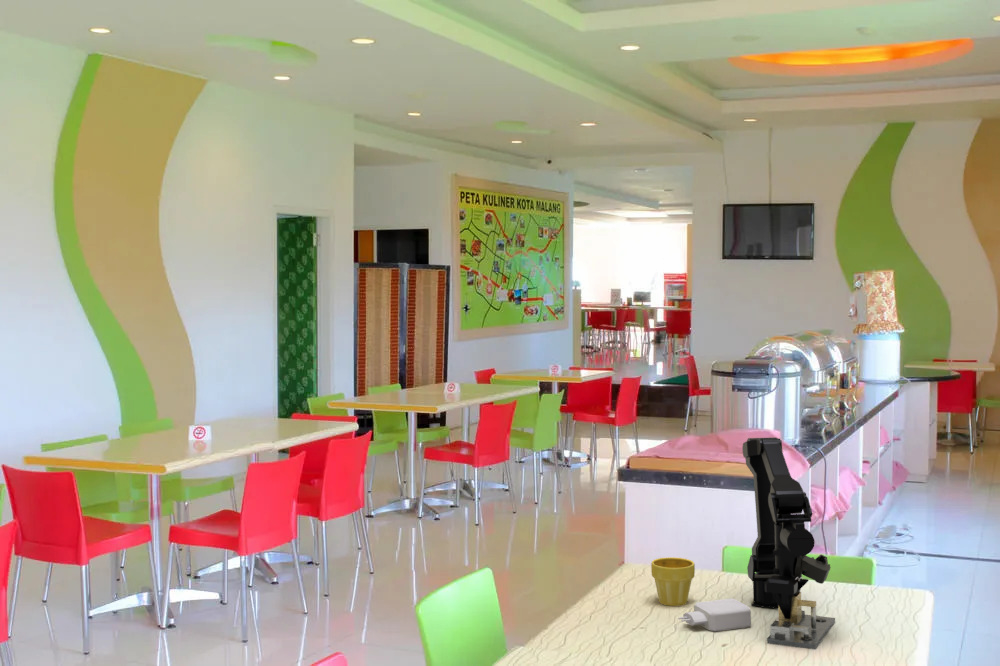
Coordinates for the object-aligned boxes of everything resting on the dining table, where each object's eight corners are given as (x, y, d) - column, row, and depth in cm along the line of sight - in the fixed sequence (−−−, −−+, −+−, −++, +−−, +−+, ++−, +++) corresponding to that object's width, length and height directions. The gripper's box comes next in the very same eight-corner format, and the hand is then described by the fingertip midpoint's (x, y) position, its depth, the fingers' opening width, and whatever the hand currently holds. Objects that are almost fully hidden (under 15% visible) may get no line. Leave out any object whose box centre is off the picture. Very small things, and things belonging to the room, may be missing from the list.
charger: (671, 624, 239) (731, 617, 243) (689, 636, 230) (751, 628, 234) (670, 603, 238) (730, 596, 243) (689, 615, 230) (750, 607, 234)
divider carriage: (778, 626, 230) (778, 594, 230) (783, 621, 233) (782, 590, 233) (813, 630, 226) (813, 598, 226) (818, 625, 230) (817, 593, 230)
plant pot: (703, 605, 252) (702, 564, 252) (666, 610, 248) (665, 569, 248) (681, 594, 262) (680, 555, 261) (644, 599, 258) (643, 560, 258)
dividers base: (767, 643, 223) (766, 626, 223) (789, 617, 241) (789, 601, 241) (815, 649, 218) (815, 632, 218) (835, 622, 236) (834, 606, 236)
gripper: (817, 558, 218) (818, 633, 219) (835, 538, 234) (836, 608, 235) (763, 553, 223) (764, 626, 224) (784, 534, 240) (786, 603, 240)
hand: (790, 615), depth 231 cm, fingers closed on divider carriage, 4 cm apart
